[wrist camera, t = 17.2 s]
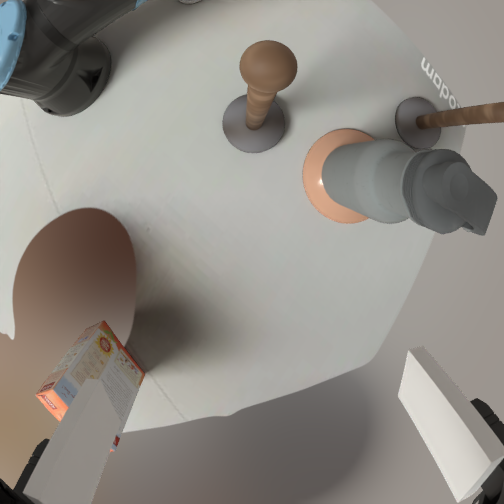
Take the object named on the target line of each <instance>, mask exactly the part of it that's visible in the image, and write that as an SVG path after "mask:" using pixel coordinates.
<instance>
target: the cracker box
mask: <svg viewBox="0 0 504 504" xmlns="http://www.w3.org/2000/svg"><path fill="white" fill-rule="evenodd" d="M144 376H145V373H144V372H143V371H142V370H141V368H140V367H139V366H138V365H137V363H136V362H135V361H134V360H133V358H132V357H131V356H130V355H129V353H128V352H127V351H126V349H125V348H124V347H123V345H122V344H121V343H120V341H119V340H118V339H117V337H116V336H115V334H114V333H113V332H112V330H111V329H110V327H109V326H108V325H107V323H106V322H105V321H102V322H100V323H98V324H96V325H94V326H91V327H89V328H87V329H86V330H85V331H84V332H83V333H82V335H81V336H80V337H79V338H78V340H77V341H76V342H75V343H74V345H73V346H72V347H71V348H70V350H69V351H68V352H67V354H66V355H65V356H64V357H63V359H62V360H61V361H60V363H59V364H58V365H57V366H56V368H55V369H54V370H53V372H52V373H51V374H50V376H49V377H48V378H47V380H46V381H45V382H44V384H43V385H42V386H41V388H40V389H39V391H38V392H37V393H36V396H37V398H38V399H39V400H40V401H41V402H42V403H43V404H44V406H45V407H46V408H47V409H48V410H49V411H50V412H51V413H52V414H53V415H54V416H55V417H56V418H57V419H58V420H59V421H61V420H62V418H63V416H64V415H65V413H66V411H67V410H68V408H69V406H70V404H71V403H72V401H73V399H74V398H75V396H76V395H77V393H78V391H79V390H80V388H81V386H82V385H83V383H84V382H85V380H86V379H98V380H101V382H102V384H103V387H104V389H105V391H106V393H107V395H108V397H109V399H110V401H111V403H112V405H113V407H114V409H115V411H116V413H117V415H118V417H119V419H120V420H121V424H120V427H119V429H118V432H117V434H116V437H115V439H114V442H113V445H112V447H111V450H110V452H112V451H115V450H116V447H117V445H118V442H119V439H120V437H121V434H122V432H123V429H124V426H125V424H126V421H127V419H128V416H129V413H130V411H131V408H132V406H133V403H134V401H135V398H136V396H137V393H138V391H139V388H140V386H141V383H142V381H143V378H144Z"/></svg>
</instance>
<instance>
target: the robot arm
mask: <svg viewBox="0 0 504 504" xmlns="http://www.w3.org/2000/svg"><path fill="white" fill-rule="evenodd" d="M145 1H147V0H24V1H22V0H8V1H7V2H3V3H2V4H0V94H5V95H11V96H16V97H22V98H27V99H32V100H33V101H34V102H35V103H36V104H37V105H38V106H39V107H40V108H41V109H43V110H44V111H45V112H47V113H49V114H51V115H55V116H61V117H67V116H72V115H75V114H77V113H79V112H81V111H83V110H84V109H86V108H87V107H88V106H90V105H91V104H92V103H93V102H94V101H95V100H96V98H97V97H98V96H99V95H100V93H101V92H102V90H103V88H104V86H105V84H106V82H107V80H108V77H109V74H110V68H111V58H110V53H109V51H108V49H107V47H106V46H105V45H104V44H103V43H102V42H101V41H100V40H98V39H97V38H95V37H93V35H94V34H96V33H97V32H98V31H100V30H101V29H103V28H104V27H106V26H107V25H109V24H110V23H112V22H113V21H115V20H116V19H118V18H120V17H121V16H123V15H124V14H126V13H128V12H129V11H131V10H135V9H136V8H137V7H139V5H141V4H142V3H144V2H145ZM398 397H399V398H400V400H401V402H402V403H403V405H404V407H405V409H406V410H407V412H408V414H409V415H410V417H411V419H412V420H413V422H414V424H415V425H416V427H417V429H418V431H419V433H420V434H421V436H422V438H423V440H424V441H425V443H426V445H427V447H428V448H429V450H430V452H431V454H432V456H433V458H434V459H435V461H436V463H437V465H438V467H439V468H440V470H441V472H442V474H443V476H444V478H445V480H446V482H447V483H448V485H449V487H450V489H451V491H452V493H453V495H454V497H455V499H456V501H457V503H458V502H460V501H462V500H464V499H465V498H467V497H469V496H471V495H472V494H474V493H475V492H476V490H477V489H478V488H479V487H480V486H481V487H482V489H483V491H482V492H481V493H480V494H479V495H478V496H477V497H476V498H475V499H474V501H473V503H472V504H475V503H476V502H477V501H478V500H479V503H478V504H504V424H503V423H502V422H501V421H499V418H498V417H497V416H496V414H494V412H493V411H492V409H491V408H490V407H489V406H488V405H487V404H486V403H484V402H483V401H481V400H479V399H478V398H476V399H474V400H472V401H469V400H468V399H467V397H466V396H465V395H464V394H463V393H462V391H461V390H460V389H459V388H458V386H457V385H456V384H455V383H454V382H453V381H452V379H451V378H450V377H449V376H448V374H447V373H446V372H445V371H444V370H443V368H442V367H441V366H440V365H439V364H438V363H437V361H436V360H435V359H434V358H433V357H432V356H431V355H430V353H429V352H428V351H427V350H426V349H425V348H424V347H423V346H421V347H417V348H413V349H410V350H408V354H407V359H406V364H405V368H404V373H403V377H402V381H401V386H400V389H399V393H398ZM120 424H121V420H120V419H119V417H118V415H117V413H116V411H115V409H114V407H113V405H112V403H111V401H110V399H109V397H108V395H107V393H106V391H105V389H104V387H103V384H102V382H101V380H98V379H86V380H85V382H84V383H83V385H82V386H81V388H80V390H79V391H78V393H77V395H76V396H75V398H74V399H73V401H72V403H71V404H70V406H69V408H68V410H67V411H66V413H65V415H64V416H63V418H62V420H61V421H60V423H59V425H58V427H57V428H56V430H55V432H54V434H53V436H52V437H51V439H50V440H49V439H44V440H43V441H42V442H41V443H40V444H39V445H37V447H36V449H35V450H34V452H33V454H32V457H30V459H29V461H28V464H27V465H26V467H25V469H24V471H23V472H22V474H21V476H20V478H19V480H18V482H17V484H16V486H15V488H14V489H13V490H12V489H11V488H10V487H9V486H8V485H7V484H6V483H5V482H4V481H3V480H2V479H0V504H91V503H92V500H93V497H94V494H95V491H96V488H97V485H98V482H99V480H100V477H101V474H102V471H103V468H104V466H105V463H106V460H107V457H108V455H109V452H110V450H111V447H112V445H113V442H114V439H115V437H116V434H117V432H118V429H119V427H120Z"/></svg>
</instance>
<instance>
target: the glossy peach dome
mask: <svg viewBox="0 0 504 504" xmlns="http://www.w3.org/2000/svg"><path fill="white" fill-rule="evenodd" d="M373 140H374V139H373V138H371V137H370V136H369V135H367V134H365V133H363V132H360V131H357V130H352V129H340V130H336V131H333V132H330V133H327V134H326V135H324V136H322V137H321V138H320V139H318V140H317V141H316V142H315V143H314V144H313V146H312V147H311V148H310V150H309V152H308V154H307V156H306V159H305V162H304V166H303V183H304V188H305V191H306V194H307V196H308V198H309V200H310V202H311V203H312V204H313V206H314V207H315V208H316V209H317V210H318V211H319V212H320V213H321V214H323V215H324V216H325V217H327V218H329V219H331V220H333V221H336V222H340V223H358V222H361V221H364V220H366V219H368V217H366V216H364V215H362V214H360V213H357V212H355V211H353V210H351V209H348V208H346V207H344V206H341V205H339V204H338V203H336V202H334V201H333V200H332V199H331V198H330V197H329V195H328V194H327V193H326V191H325V189H324V186H323V183H322V176H321V174H322V167H323V164H324V161H325V159H326V158H327V156H328V155H329V154H330V153H331V152H332V151H333V150H334V149H336V148H338V147H340V146H343V145H347V144H353V143H359V142H366V141H373Z"/></svg>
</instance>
